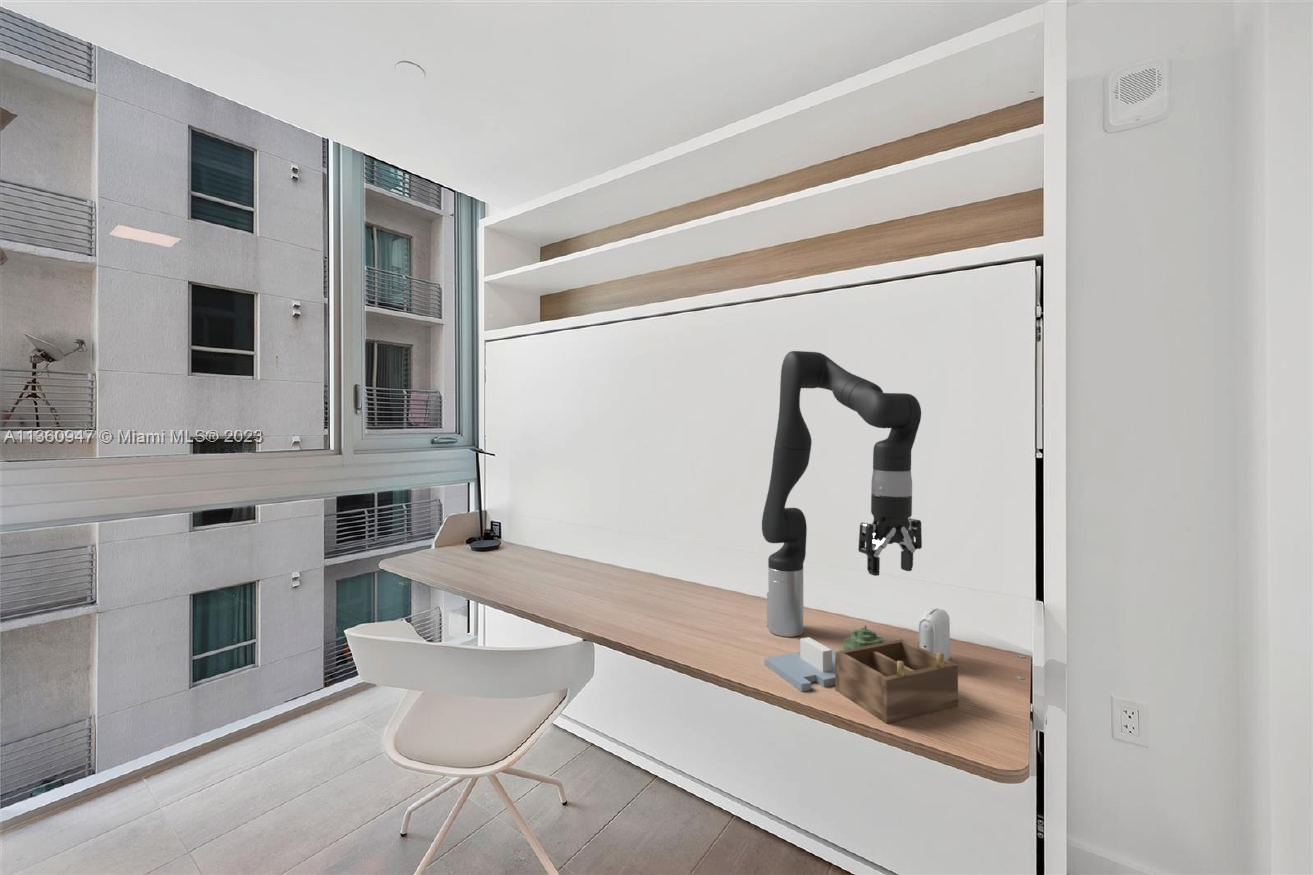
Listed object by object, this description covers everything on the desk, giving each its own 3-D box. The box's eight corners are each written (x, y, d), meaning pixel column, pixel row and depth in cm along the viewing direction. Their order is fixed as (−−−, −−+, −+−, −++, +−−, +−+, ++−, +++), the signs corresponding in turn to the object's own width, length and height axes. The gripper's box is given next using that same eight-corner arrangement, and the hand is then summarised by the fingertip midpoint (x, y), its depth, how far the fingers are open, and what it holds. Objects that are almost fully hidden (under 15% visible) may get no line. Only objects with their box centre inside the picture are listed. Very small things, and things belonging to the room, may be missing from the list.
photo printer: (936, 673, 119) (936, 617, 119) (916, 667, 122) (916, 613, 122) (952, 659, 126) (952, 607, 126) (933, 654, 129) (932, 603, 129)
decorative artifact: (875, 646, 135) (837, 647, 134) (875, 618, 134) (836, 619, 134) (896, 663, 125) (854, 664, 124) (896, 632, 125) (854, 634, 124)
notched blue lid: (764, 664, 124) (764, 638, 124) (827, 652, 130) (827, 628, 130) (801, 691, 110) (801, 662, 110) (870, 677, 117) (869, 649, 117)
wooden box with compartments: (835, 690, 111) (835, 639, 111) (901, 675, 118) (901, 627, 118) (886, 723, 98) (886, 666, 98) (958, 705, 105) (957, 652, 104)
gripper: (903, 488, 113) (902, 564, 114) (850, 491, 108) (849, 571, 109) (933, 493, 106) (932, 573, 107) (878, 496, 101) (876, 581, 102)
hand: (890, 572), depth 108 cm, fingers open, 8 cm apart
